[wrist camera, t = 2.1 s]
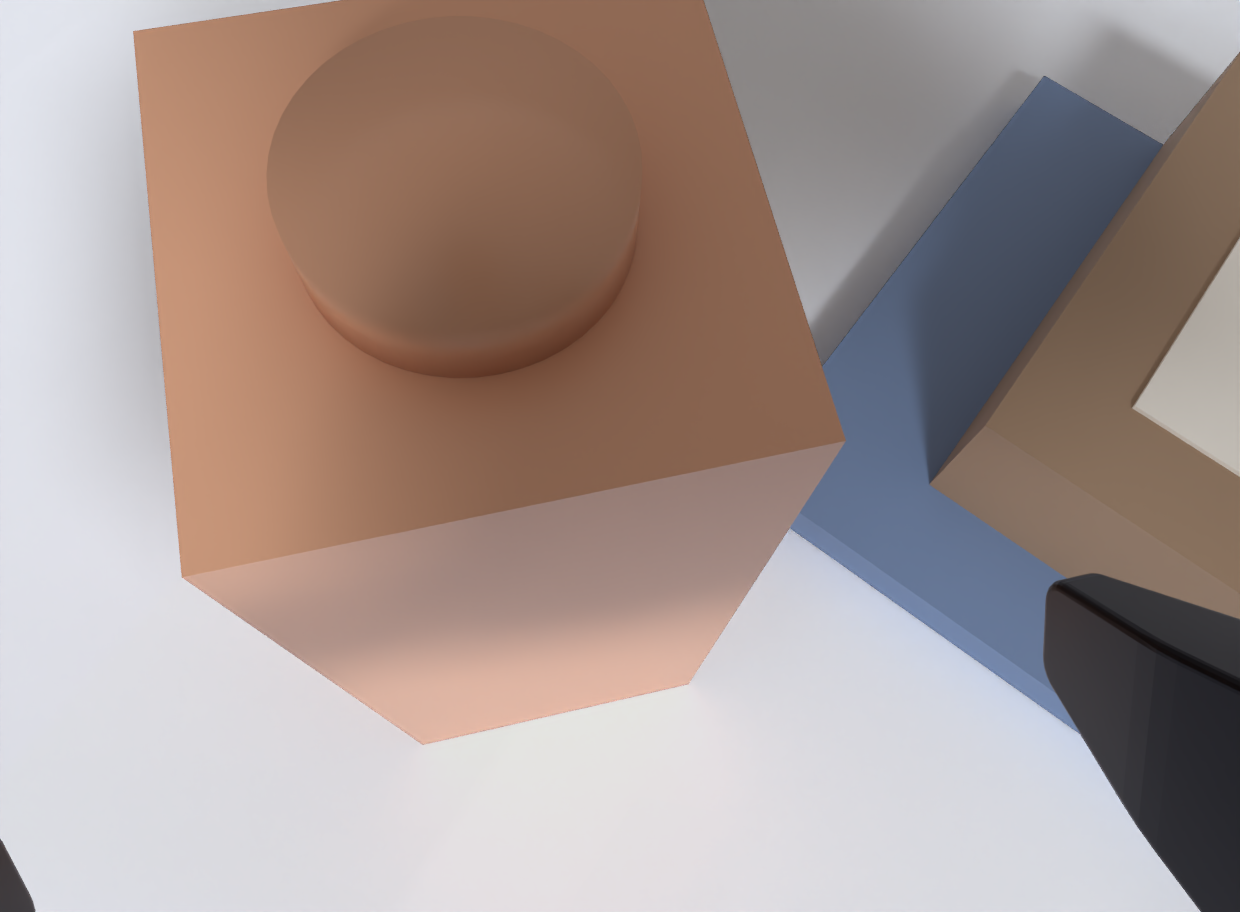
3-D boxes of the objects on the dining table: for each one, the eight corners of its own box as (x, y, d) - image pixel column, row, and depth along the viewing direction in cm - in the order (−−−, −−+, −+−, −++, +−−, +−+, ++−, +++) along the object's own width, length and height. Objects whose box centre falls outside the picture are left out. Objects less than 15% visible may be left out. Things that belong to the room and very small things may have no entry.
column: (688, 684, 20) (872, 398, 7) (422, 745, 19) (139, 547, 7) (627, 440, 22) (695, -126, 9) (382, 490, 21) (92, -42, 8)
